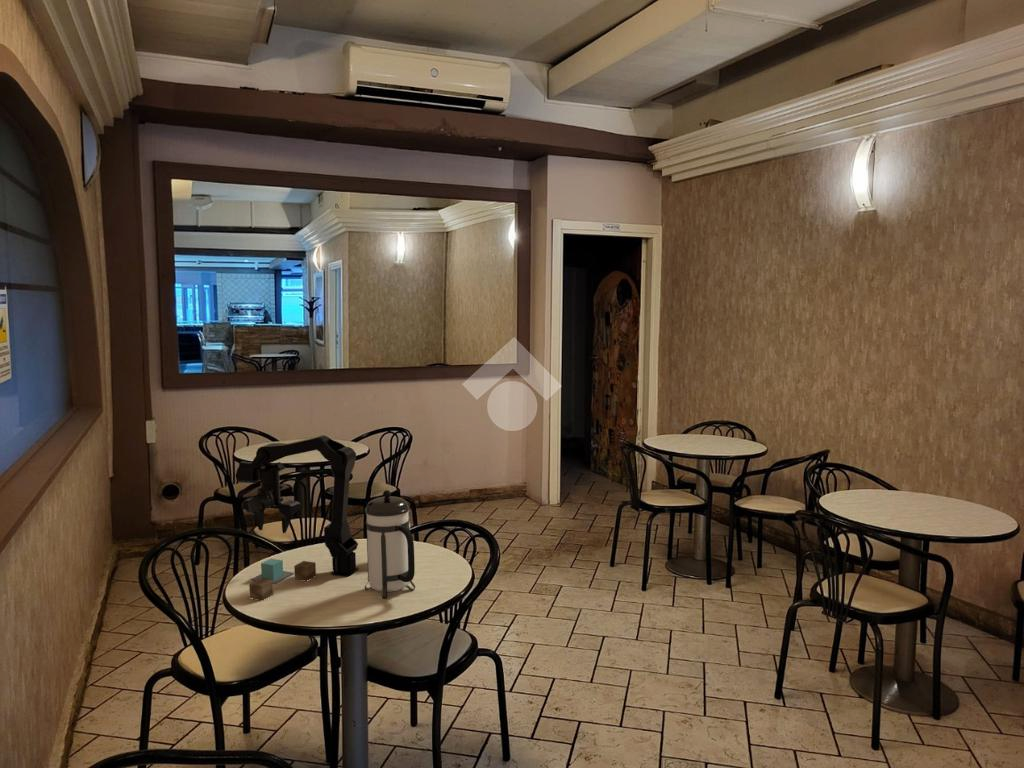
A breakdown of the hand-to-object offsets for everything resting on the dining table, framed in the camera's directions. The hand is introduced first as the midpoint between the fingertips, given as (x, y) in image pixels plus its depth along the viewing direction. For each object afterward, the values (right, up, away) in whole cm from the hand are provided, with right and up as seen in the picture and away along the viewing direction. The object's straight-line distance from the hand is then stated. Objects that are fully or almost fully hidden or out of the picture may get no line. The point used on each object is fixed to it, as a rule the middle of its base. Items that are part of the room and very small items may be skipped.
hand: (272, 531), depth 233 cm
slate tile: (+2, -13, -7) cm, 15 cm away
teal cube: (+2, -12, -7) cm, 14 cm away
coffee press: (+42, -14, -19) cm, 48 cm away
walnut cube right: (+13, -13, -8) cm, 20 cm away
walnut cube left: (+4, -15, -22) cm, 27 cm away
